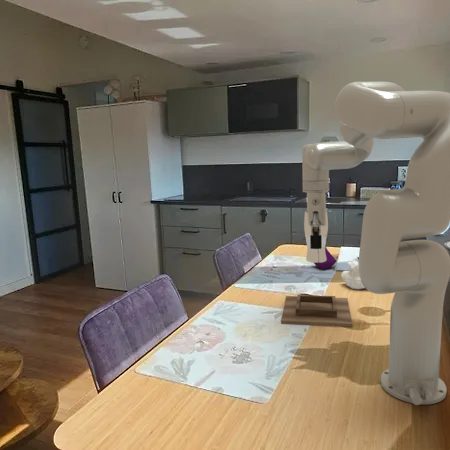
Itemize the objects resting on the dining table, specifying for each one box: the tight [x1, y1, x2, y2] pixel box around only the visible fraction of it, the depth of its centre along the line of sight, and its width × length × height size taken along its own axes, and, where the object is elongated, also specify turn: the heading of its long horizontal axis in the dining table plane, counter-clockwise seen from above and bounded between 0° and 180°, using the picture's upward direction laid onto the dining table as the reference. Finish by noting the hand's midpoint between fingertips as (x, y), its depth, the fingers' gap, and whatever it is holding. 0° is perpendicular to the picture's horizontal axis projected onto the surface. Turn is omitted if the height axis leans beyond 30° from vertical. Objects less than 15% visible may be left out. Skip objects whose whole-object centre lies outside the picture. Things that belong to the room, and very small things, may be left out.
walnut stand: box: [280, 294, 353, 328], centre depth 126 cm, size 20×20×3 cm
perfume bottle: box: [313, 244, 337, 270], centre depth 169 cm, size 8×8×18 cm
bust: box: [340, 260, 366, 290], centre depth 144 cm, size 12×8×11 cm
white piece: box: [303, 210, 329, 264], centre depth 122 cm, size 7×7×15 cm
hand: (316, 245), depth 122 cm, fingers closed on white piece, 6 cm apart
